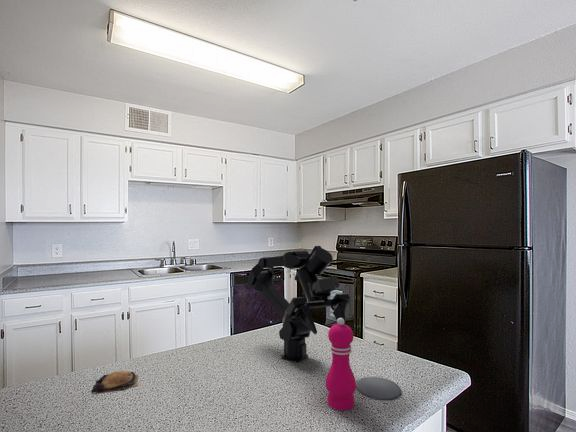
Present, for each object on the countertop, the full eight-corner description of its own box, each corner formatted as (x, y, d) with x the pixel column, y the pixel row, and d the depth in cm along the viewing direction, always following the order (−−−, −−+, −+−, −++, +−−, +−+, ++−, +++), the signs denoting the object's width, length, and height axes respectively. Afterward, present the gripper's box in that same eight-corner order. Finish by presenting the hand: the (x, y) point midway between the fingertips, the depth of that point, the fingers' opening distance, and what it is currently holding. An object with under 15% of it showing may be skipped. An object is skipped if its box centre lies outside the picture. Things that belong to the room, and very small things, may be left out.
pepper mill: (358, 398, 79) (357, 315, 80) (354, 414, 72) (353, 323, 73) (328, 393, 82) (329, 312, 82) (322, 408, 75) (322, 320, 76)
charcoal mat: (349, 391, 83) (349, 389, 83) (365, 375, 92) (365, 373, 92) (393, 404, 76) (393, 402, 76) (405, 386, 86) (405, 383, 86)
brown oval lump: (138, 376, 92) (139, 363, 92) (137, 389, 84) (137, 375, 84) (95, 382, 88) (95, 368, 88) (89, 397, 80) (90, 382, 80)
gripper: (291, 268, 90) (311, 319, 79) (347, 265, 97) (371, 311, 87) (280, 292, 96) (296, 341, 86) (333, 288, 104) (354, 332, 94)
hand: (330, 331), depth 88 cm, fingers open, 9 cm apart
